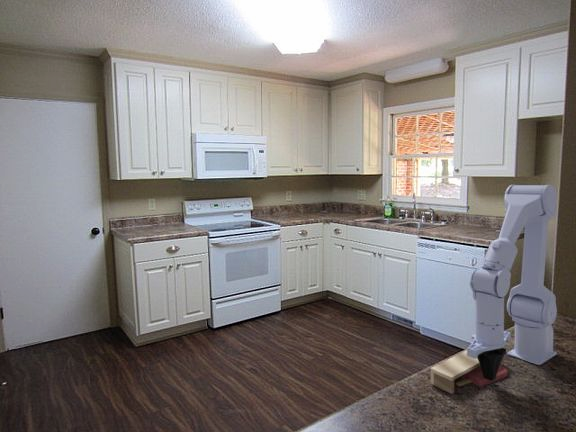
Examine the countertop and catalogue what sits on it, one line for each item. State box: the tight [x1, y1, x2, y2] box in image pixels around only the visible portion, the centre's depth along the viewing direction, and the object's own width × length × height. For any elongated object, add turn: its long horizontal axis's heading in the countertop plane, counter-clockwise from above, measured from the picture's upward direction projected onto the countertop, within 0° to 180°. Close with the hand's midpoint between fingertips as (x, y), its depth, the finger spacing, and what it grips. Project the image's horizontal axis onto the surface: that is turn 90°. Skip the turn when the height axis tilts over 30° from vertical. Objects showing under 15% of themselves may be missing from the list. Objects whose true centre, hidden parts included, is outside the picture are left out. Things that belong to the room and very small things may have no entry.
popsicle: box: [455, 365, 509, 387], centre depth 96 cm, size 5×2×15 cm
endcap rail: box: [430, 349, 504, 395], centre depth 98 cm, size 21×6×4 cm, turn 124°
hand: (489, 378), depth 94 cm, fingers closed, pressing on popsicle
